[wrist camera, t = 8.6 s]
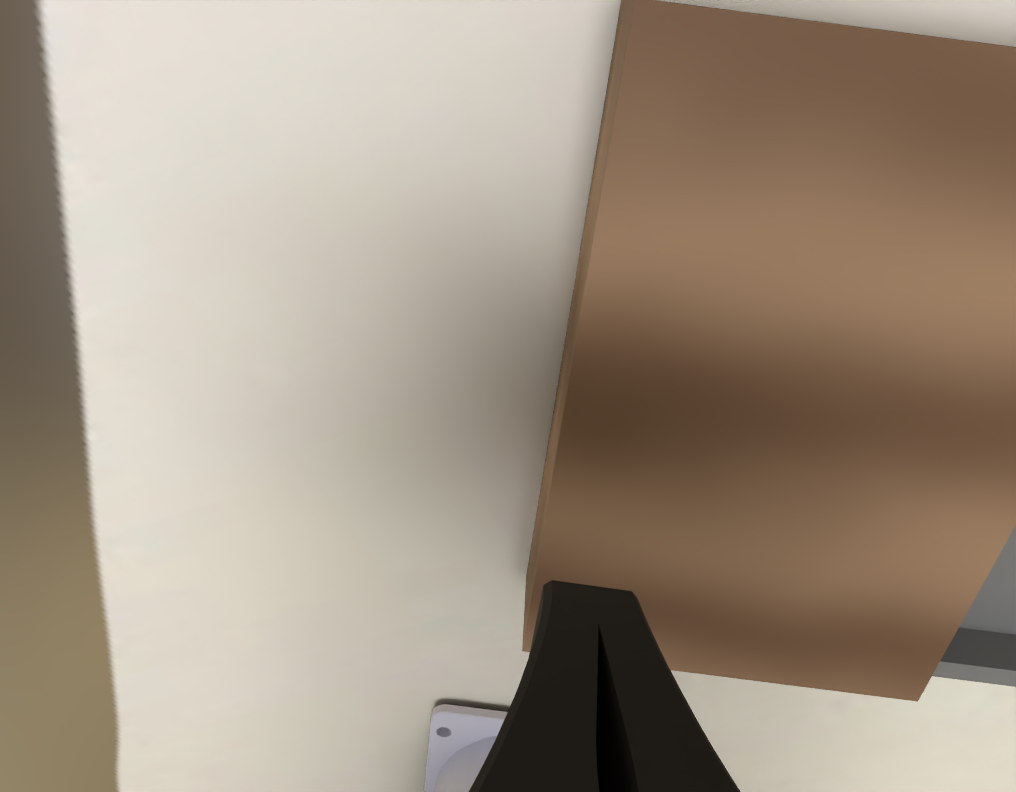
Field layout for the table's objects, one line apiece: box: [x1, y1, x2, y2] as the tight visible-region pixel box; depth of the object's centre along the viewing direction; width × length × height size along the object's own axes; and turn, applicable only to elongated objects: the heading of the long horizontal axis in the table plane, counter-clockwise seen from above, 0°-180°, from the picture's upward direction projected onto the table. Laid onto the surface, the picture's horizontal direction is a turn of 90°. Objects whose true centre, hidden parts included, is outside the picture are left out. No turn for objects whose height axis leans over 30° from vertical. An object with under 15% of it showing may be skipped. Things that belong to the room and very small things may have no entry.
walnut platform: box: [522, 0, 1016, 701], centre depth 18 cm, size 16×11×3 cm
